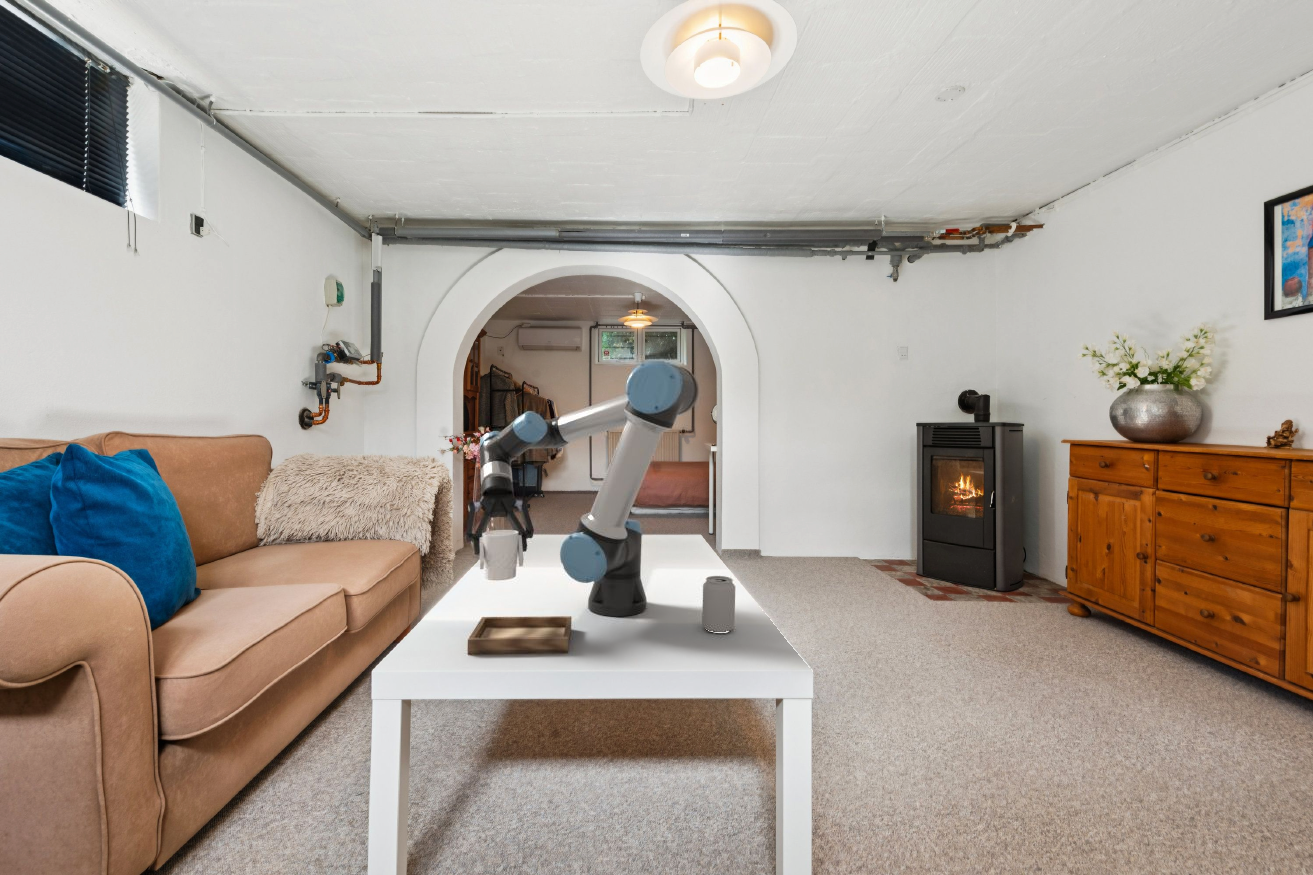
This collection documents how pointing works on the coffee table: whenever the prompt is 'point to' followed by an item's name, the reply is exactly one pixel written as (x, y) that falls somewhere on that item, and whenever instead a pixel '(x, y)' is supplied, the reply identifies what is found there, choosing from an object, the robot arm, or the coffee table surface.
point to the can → (718, 604)
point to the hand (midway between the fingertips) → (501, 564)
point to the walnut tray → (521, 635)
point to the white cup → (500, 554)
